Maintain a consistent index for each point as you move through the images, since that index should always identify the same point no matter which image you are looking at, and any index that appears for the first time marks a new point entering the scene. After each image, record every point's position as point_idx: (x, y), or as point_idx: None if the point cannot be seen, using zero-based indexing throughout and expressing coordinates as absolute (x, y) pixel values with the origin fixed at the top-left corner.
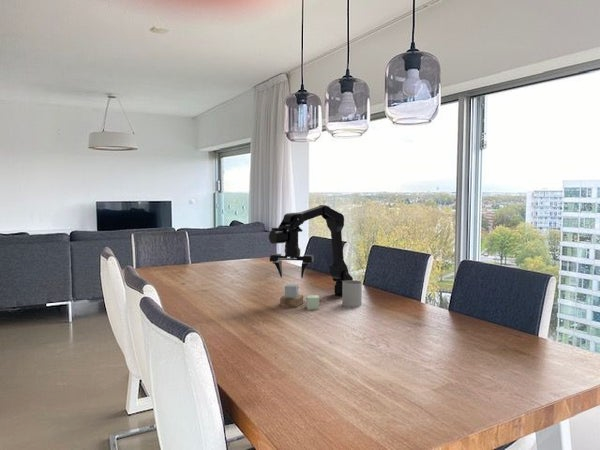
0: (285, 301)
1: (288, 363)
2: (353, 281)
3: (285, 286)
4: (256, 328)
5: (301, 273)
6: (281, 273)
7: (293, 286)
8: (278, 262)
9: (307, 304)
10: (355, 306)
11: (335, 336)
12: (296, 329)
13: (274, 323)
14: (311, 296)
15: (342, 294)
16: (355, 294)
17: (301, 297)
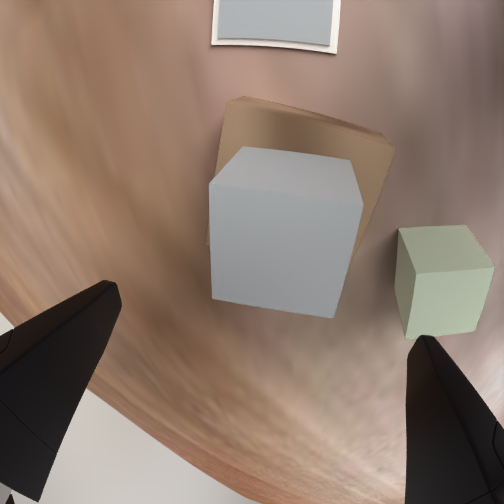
0: None
1: (304, 491)
2: None
3: (218, 297)
4: (218, 429)
5: (408, 433)
6: (95, 348)
7: (303, 312)
8: (26, 496)
9: (399, 308)
10: None
11: (400, 457)
12: (321, 442)
13: (255, 415)
14: (441, 305)
15: None
16: None
17: (376, 193)
